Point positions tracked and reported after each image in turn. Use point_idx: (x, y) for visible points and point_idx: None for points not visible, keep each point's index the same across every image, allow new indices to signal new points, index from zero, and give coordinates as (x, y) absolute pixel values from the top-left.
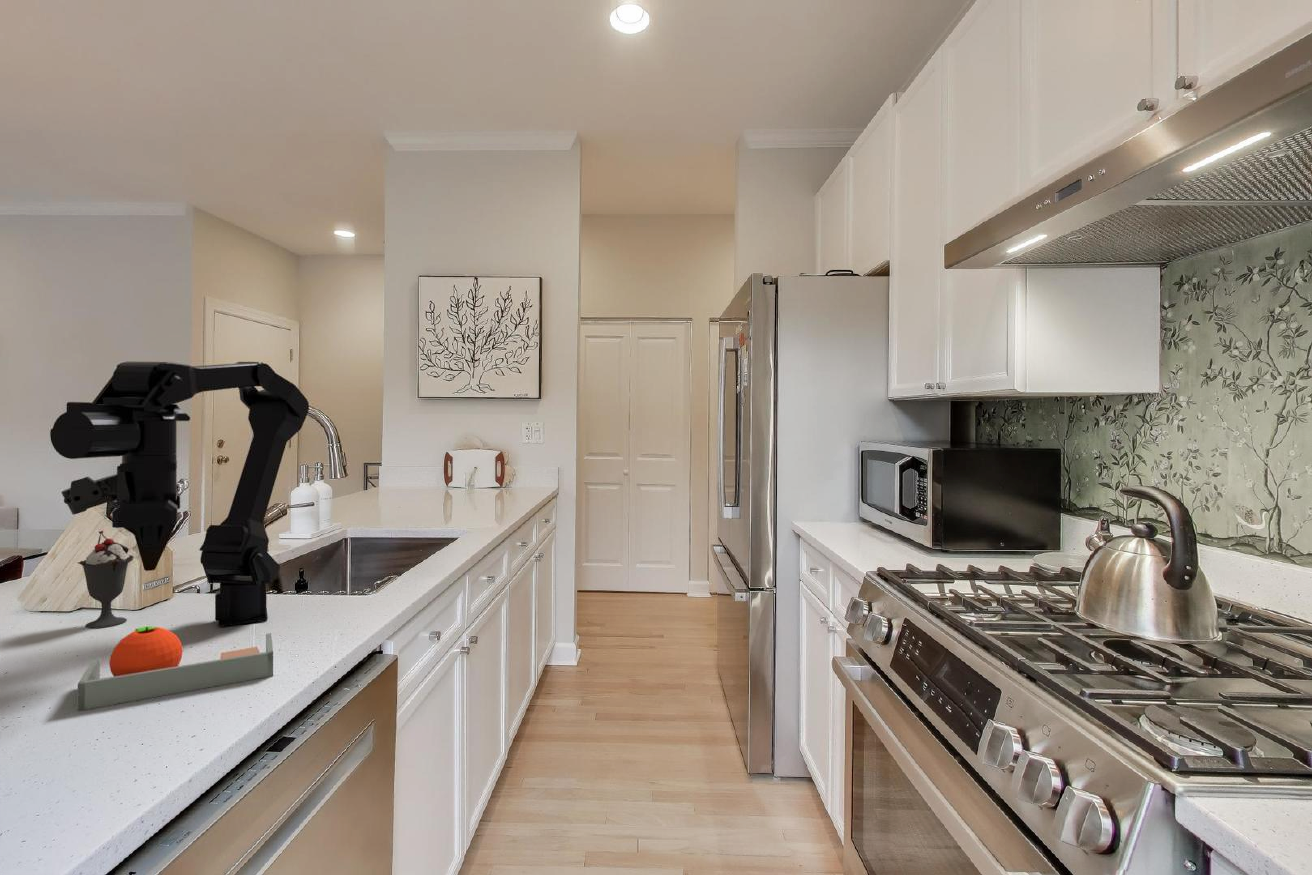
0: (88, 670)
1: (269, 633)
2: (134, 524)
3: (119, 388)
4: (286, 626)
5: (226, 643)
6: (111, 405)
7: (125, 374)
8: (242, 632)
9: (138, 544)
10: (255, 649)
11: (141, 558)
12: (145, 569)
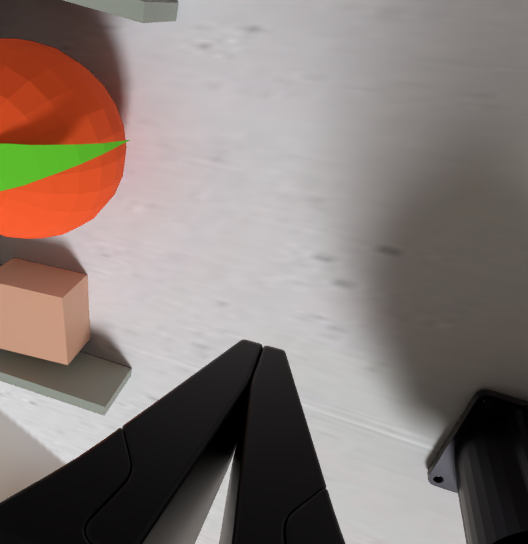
0: None
1: (103, 412)
2: None
3: None
4: (335, 476)
5: (299, 348)
6: None
7: None
8: (372, 404)
9: (87, 460)
10: (45, 355)
11: (190, 379)
12: (238, 344)
